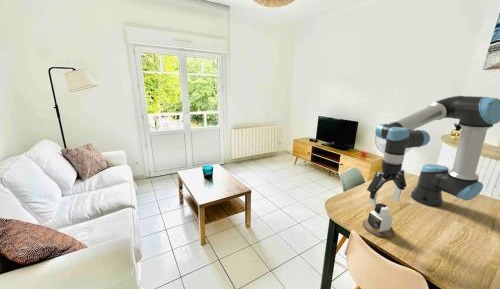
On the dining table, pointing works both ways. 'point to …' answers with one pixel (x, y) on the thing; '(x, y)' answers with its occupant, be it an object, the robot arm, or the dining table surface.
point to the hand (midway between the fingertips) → (384, 202)
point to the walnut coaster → (380, 234)
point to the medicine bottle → (380, 218)
